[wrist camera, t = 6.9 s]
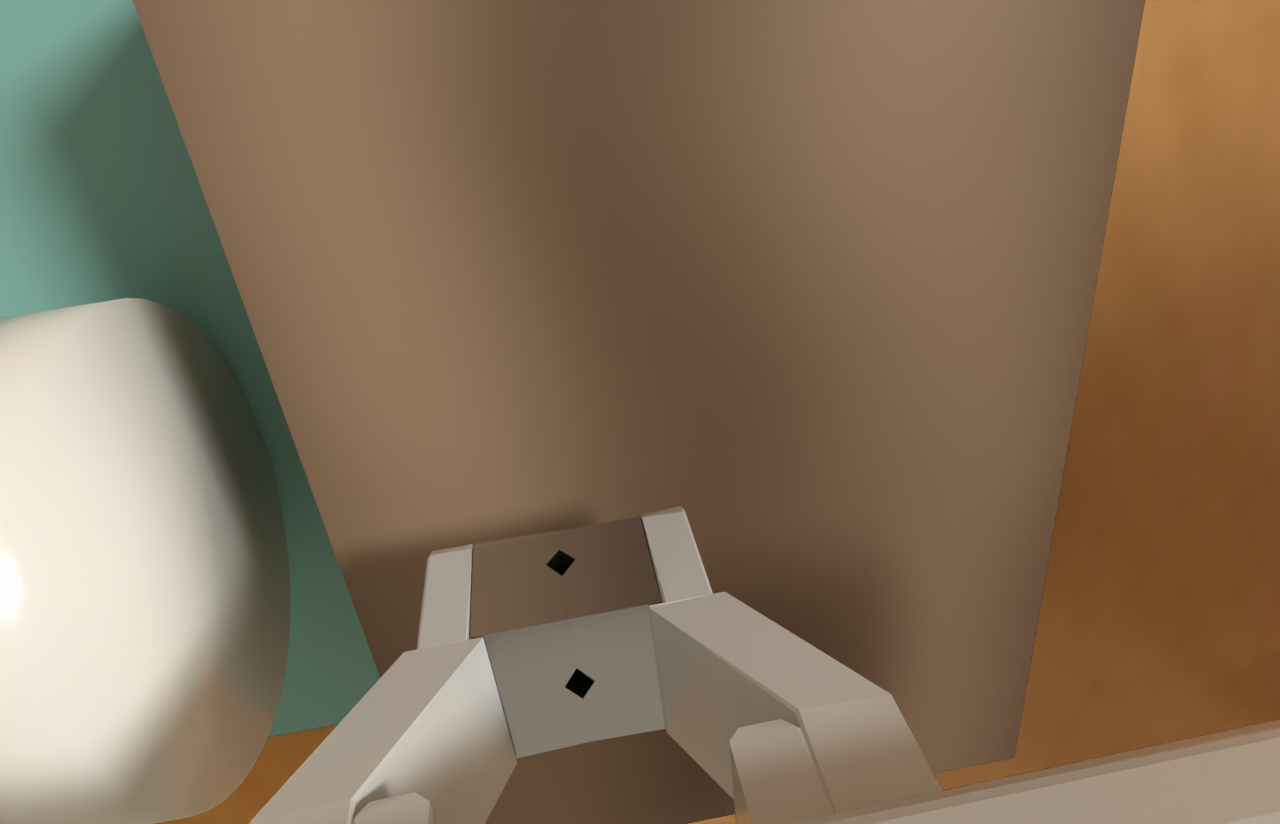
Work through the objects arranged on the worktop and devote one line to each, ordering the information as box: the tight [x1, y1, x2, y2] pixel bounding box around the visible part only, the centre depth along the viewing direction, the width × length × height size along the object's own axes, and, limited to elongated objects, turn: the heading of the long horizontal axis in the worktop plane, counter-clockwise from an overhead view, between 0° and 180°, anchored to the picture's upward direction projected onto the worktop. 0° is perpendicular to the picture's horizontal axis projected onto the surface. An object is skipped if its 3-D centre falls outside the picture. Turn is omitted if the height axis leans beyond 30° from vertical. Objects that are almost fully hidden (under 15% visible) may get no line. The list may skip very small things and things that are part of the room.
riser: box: [133, 0, 1145, 824], centre depth 13 cm, size 10×14×4 cm
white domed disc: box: [0, 298, 291, 824], centre depth 11 cm, size 6×6×2 cm
